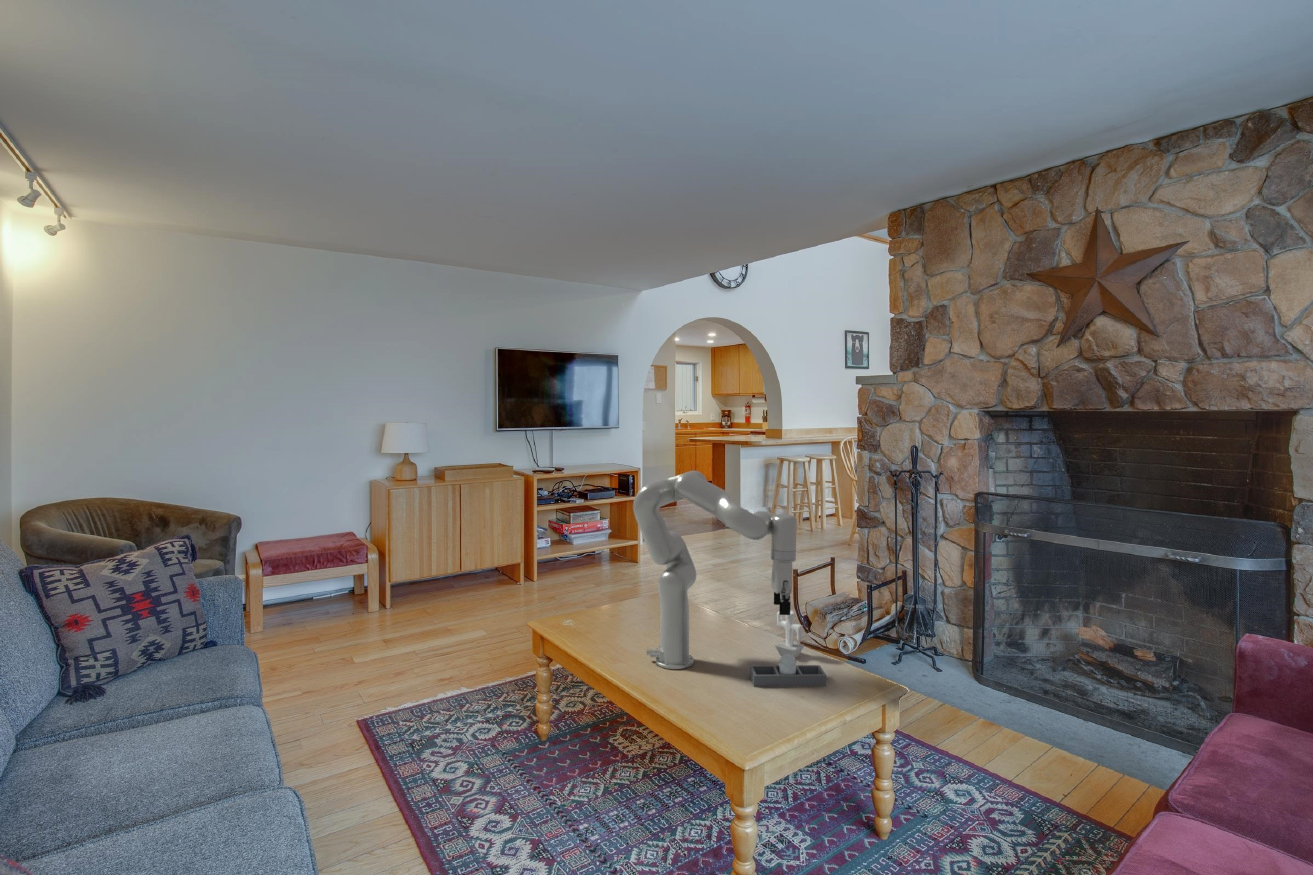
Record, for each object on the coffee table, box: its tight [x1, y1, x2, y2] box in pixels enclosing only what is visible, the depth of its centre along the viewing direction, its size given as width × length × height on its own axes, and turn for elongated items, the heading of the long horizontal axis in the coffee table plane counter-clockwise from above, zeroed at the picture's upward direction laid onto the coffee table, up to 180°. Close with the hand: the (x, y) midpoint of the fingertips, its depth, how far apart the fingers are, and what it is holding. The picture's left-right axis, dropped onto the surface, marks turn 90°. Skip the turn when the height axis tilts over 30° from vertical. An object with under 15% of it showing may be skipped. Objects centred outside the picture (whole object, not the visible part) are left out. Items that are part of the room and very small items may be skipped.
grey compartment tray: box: [749, 664, 828, 688], centre depth 197 cm, size 22×8×3 cm, turn 91°
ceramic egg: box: [778, 654, 797, 675], centre depth 197 cm, size 5×5×8 cm
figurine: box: [774, 610, 805, 659], centre depth 217 cm, size 7×9×15 cm
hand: (781, 609), depth 199 cm, fingers open, 9 cm apart
